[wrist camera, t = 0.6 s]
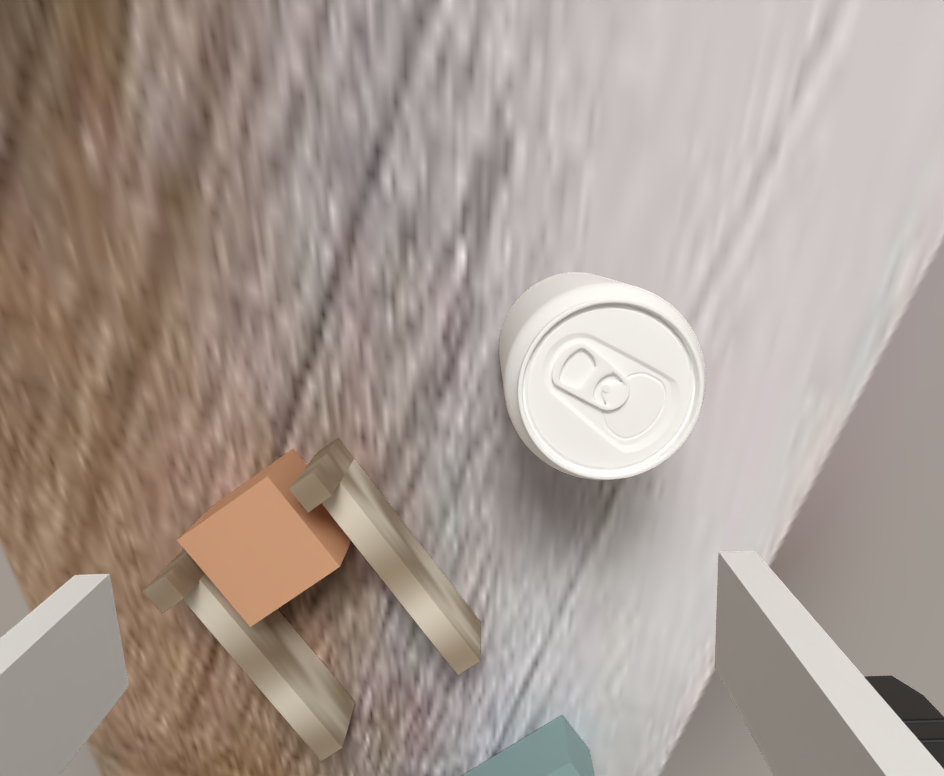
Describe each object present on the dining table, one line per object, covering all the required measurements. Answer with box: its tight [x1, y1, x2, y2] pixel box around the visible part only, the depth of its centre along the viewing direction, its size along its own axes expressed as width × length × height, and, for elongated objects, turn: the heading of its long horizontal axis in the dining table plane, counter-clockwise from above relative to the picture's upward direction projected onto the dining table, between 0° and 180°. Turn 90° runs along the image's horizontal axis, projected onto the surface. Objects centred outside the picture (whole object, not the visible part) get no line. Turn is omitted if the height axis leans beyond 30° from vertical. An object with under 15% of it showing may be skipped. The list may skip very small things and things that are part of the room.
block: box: [177, 449, 351, 627], centre depth 39 cm, size 6×6×5 cm
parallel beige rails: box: [142, 438, 481, 761], centre depth 39 cm, size 14×11×6 cm
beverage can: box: [499, 272, 706, 480], centre depth 33 cm, size 8×8×12 cm
